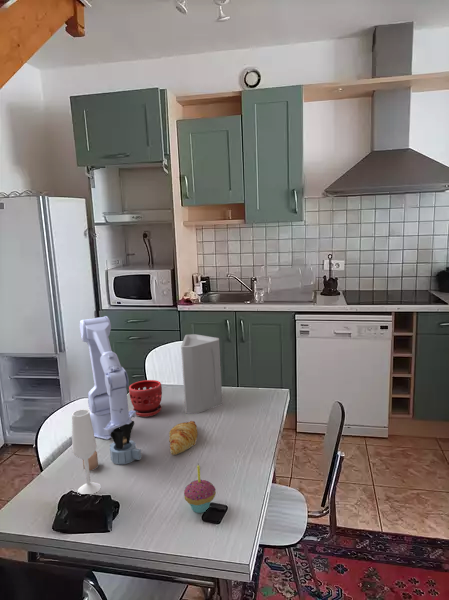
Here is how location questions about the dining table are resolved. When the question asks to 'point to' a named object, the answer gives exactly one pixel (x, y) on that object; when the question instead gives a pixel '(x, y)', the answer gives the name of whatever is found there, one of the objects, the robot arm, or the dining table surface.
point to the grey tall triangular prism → (201, 373)
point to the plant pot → (146, 397)
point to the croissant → (182, 437)
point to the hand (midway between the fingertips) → (122, 445)
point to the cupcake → (199, 494)
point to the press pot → (125, 453)
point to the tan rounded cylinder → (92, 461)
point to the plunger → (124, 442)
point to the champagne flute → (84, 446)
